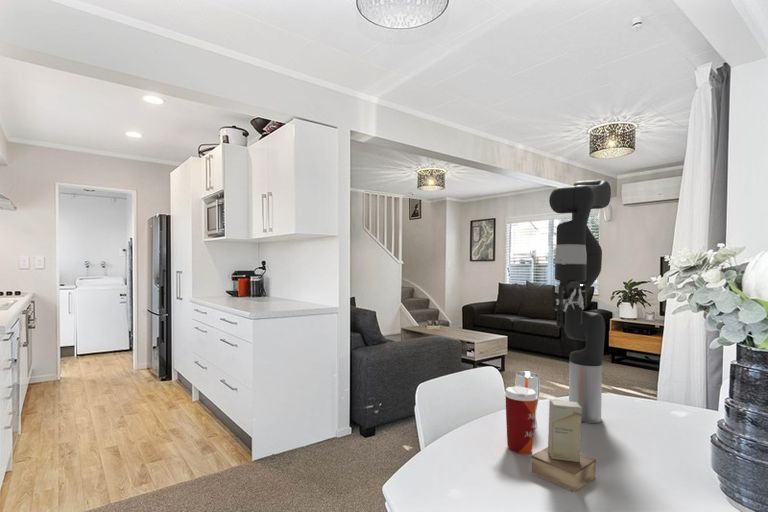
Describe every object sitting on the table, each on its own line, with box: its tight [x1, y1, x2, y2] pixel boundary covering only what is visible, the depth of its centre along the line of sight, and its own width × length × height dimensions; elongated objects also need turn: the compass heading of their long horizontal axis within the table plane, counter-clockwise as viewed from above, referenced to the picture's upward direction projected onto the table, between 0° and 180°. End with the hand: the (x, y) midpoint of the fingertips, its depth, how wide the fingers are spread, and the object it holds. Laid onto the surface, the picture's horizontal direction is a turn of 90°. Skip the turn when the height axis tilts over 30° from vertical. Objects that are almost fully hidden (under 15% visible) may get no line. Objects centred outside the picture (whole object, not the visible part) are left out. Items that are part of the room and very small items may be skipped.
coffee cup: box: [503, 386, 538, 455], centre depth 110 cm, size 8×8×15 cm
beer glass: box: [514, 370, 541, 429], centre depth 126 cm, size 7×7×15 cm
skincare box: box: [547, 398, 582, 462], centre depth 96 cm, size 6×4×12 cm
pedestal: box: [530, 446, 597, 493], centre depth 96 cm, size 10×10×4 cm
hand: (569, 324), depth 110 cm, fingers open, 8 cm apart
